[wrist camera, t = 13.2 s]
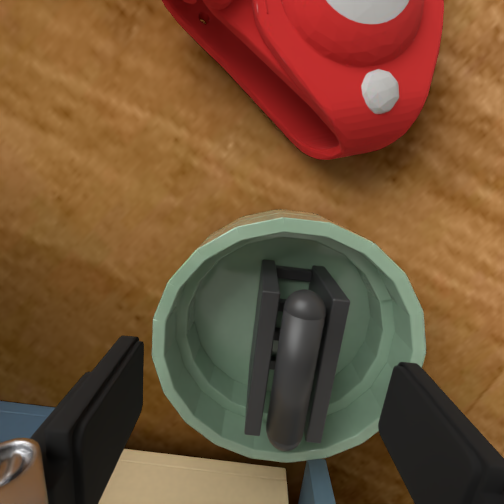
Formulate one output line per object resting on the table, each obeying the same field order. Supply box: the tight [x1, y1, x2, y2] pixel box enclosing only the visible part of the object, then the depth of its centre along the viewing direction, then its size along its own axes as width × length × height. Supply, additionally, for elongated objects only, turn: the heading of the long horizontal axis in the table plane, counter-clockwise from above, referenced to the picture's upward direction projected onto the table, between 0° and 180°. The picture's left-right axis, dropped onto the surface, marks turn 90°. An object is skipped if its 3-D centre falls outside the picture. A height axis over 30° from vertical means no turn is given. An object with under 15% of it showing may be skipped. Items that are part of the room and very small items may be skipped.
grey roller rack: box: [244, 259, 350, 451], centre depth 14 cm, size 7×3×6 cm, turn 174°
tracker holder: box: [162, 0, 444, 160], centre depth 12 cm, size 12×4×10 cm
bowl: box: [152, 209, 426, 463], centre depth 15 cm, size 12×12×4 cm
